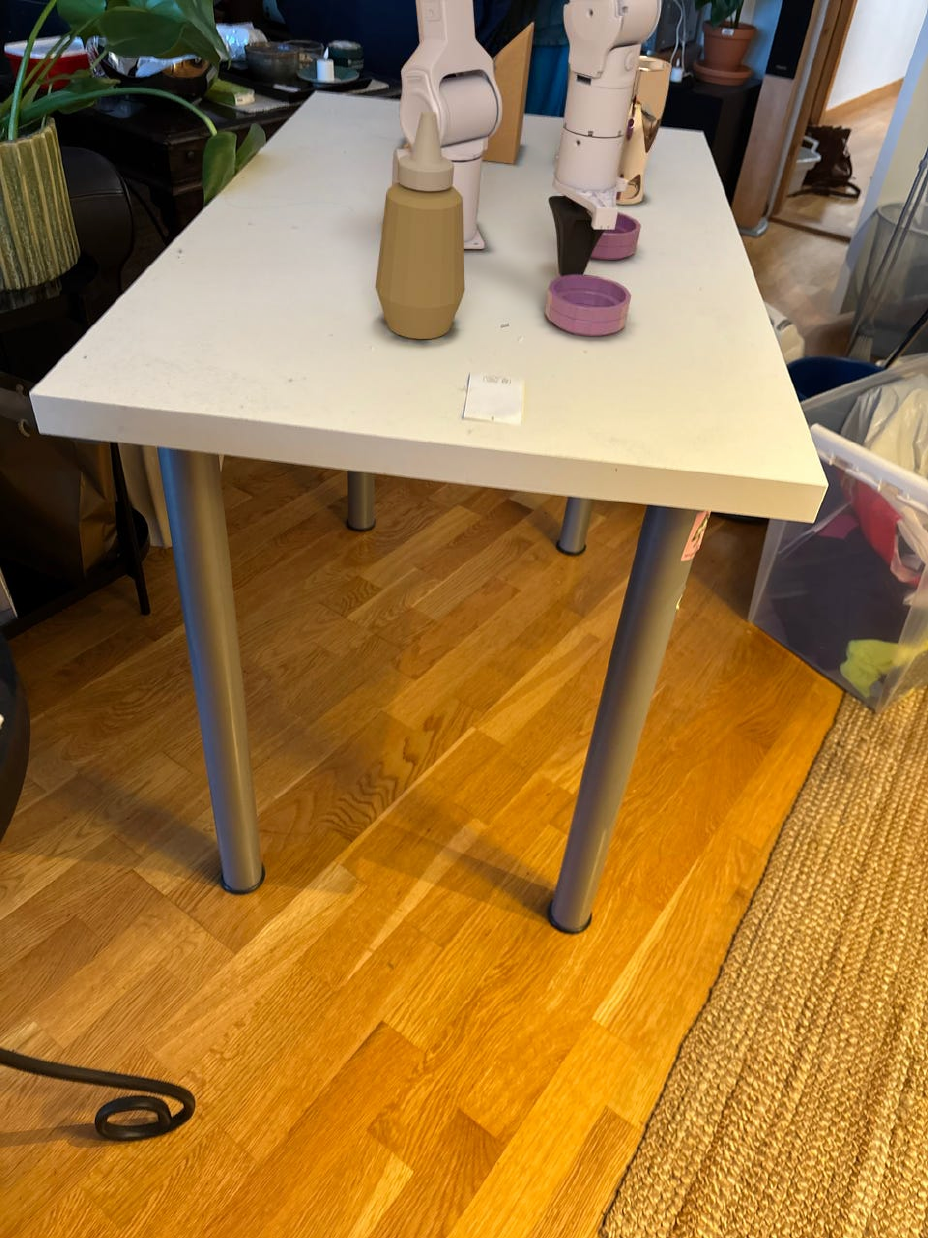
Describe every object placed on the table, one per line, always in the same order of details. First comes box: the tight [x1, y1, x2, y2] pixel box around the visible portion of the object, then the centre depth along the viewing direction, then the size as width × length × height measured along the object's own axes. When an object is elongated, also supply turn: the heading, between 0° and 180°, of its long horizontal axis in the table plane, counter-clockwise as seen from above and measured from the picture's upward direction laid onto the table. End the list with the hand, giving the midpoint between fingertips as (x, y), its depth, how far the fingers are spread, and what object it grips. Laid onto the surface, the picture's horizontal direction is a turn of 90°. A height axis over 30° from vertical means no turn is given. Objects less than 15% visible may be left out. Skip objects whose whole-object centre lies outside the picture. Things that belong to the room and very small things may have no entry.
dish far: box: [590, 211, 642, 261], centre depth 101 cm, size 8×8×3 cm
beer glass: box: [616, 55, 672, 206], centre depth 111 cm, size 7×7×15 cm
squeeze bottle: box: [374, 111, 466, 340], centre depth 78 cm, size 8×8×18 cm
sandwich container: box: [402, 21, 535, 165], centre depth 120 cm, size 9×15×15 cm, turn 81°
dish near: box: [544, 273, 632, 337], centre depth 87 cm, size 8×8×3 cm
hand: (570, 275), depth 92 cm, fingers closed
